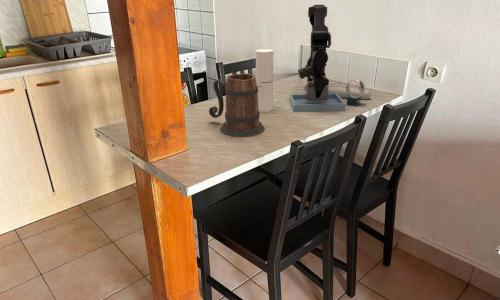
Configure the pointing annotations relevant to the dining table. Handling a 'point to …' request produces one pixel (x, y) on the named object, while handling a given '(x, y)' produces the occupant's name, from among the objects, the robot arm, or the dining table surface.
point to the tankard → (238, 106)
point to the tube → (354, 92)
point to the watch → (355, 99)
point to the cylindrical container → (264, 79)
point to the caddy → (311, 93)
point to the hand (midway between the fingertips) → (316, 96)
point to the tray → (316, 103)
